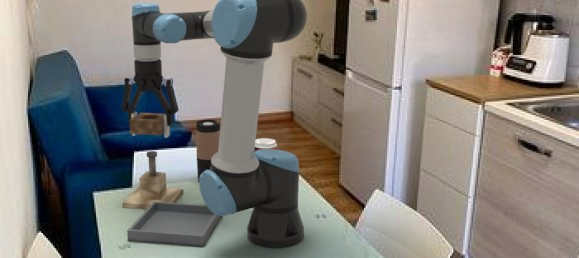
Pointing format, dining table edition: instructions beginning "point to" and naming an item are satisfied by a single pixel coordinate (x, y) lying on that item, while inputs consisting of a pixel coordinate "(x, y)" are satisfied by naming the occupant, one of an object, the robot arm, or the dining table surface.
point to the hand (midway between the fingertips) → (151, 135)
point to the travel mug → (206, 143)
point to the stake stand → (152, 188)
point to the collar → (147, 124)
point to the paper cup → (265, 144)
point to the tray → (174, 224)
